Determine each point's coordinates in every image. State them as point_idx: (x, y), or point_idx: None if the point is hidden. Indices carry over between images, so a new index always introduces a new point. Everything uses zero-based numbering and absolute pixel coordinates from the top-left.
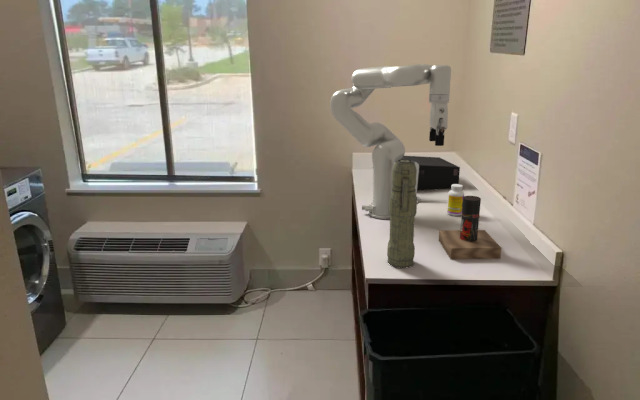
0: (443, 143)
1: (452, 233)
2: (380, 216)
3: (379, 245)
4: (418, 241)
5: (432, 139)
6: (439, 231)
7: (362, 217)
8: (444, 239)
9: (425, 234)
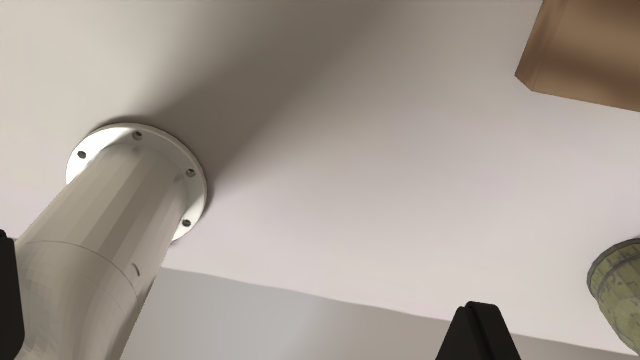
0: (502, 331)
1: (594, 46)
2: (198, 219)
3: (471, 287)
4: (489, 156)
5: (8, 331)
6: (537, 91)
7: (170, 267)
8: (624, 107)
9: (427, 99)
